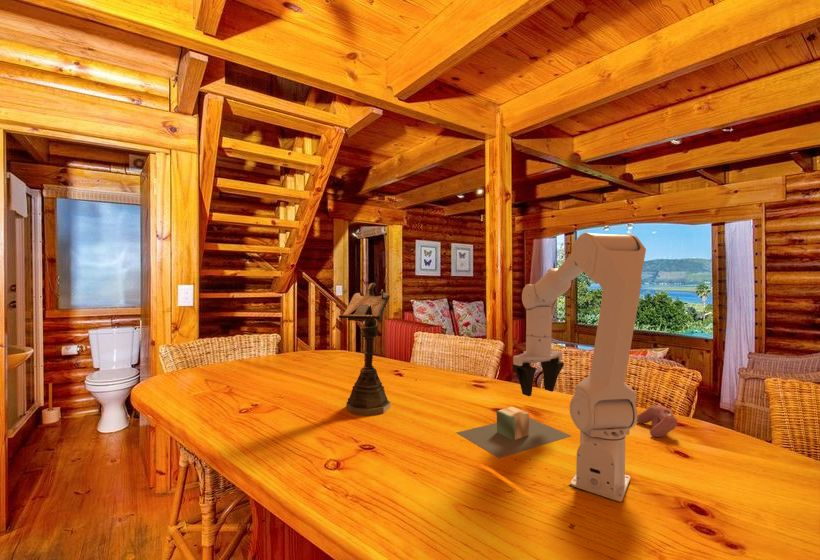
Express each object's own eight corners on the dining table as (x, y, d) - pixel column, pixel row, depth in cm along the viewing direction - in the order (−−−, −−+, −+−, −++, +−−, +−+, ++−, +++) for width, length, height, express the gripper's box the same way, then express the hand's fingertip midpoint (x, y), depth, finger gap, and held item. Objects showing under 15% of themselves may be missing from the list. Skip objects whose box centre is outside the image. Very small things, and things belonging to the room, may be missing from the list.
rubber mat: (499, 461, 75) (499, 458, 75) (456, 435, 87) (456, 432, 87) (571, 438, 86) (571, 435, 86) (524, 418, 98) (524, 415, 98)
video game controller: (669, 446, 86) (685, 419, 86) (649, 435, 87) (665, 409, 86) (650, 429, 96) (664, 405, 95) (633, 419, 97) (647, 396, 96)
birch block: (529, 435, 86) (512, 440, 83) (512, 427, 90) (496, 432, 88) (528, 413, 86) (512, 417, 83) (512, 406, 90) (496, 410, 87)
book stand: (378, 425, 92) (380, 281, 92) (330, 418, 96) (332, 280, 96) (400, 404, 108) (402, 280, 108) (358, 399, 112) (360, 280, 112)
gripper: (546, 331, 98) (545, 384, 98) (504, 335, 90) (503, 392, 90) (569, 335, 91) (569, 391, 91) (526, 339, 84) (526, 400, 84)
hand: (538, 392), depth 91 cm, fingers open, 7 cm apart
